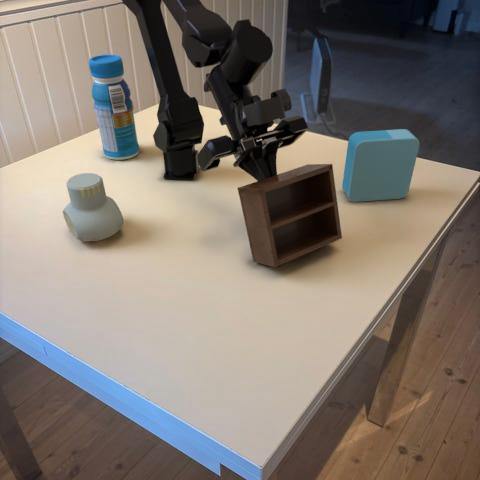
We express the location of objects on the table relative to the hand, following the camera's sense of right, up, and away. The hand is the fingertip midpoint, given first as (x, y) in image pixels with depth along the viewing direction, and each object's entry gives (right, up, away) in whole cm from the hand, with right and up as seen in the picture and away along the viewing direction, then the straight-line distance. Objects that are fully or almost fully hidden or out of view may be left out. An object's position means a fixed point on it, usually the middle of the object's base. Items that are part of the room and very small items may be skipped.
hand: (275, 191), depth 79 cm
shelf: (+4, -9, +1) cm, 10 cm away
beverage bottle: (-33, +18, +34) cm, 51 cm away
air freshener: (-31, -5, +9) cm, 33 cm away
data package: (+21, +4, +18) cm, 27 cm away
